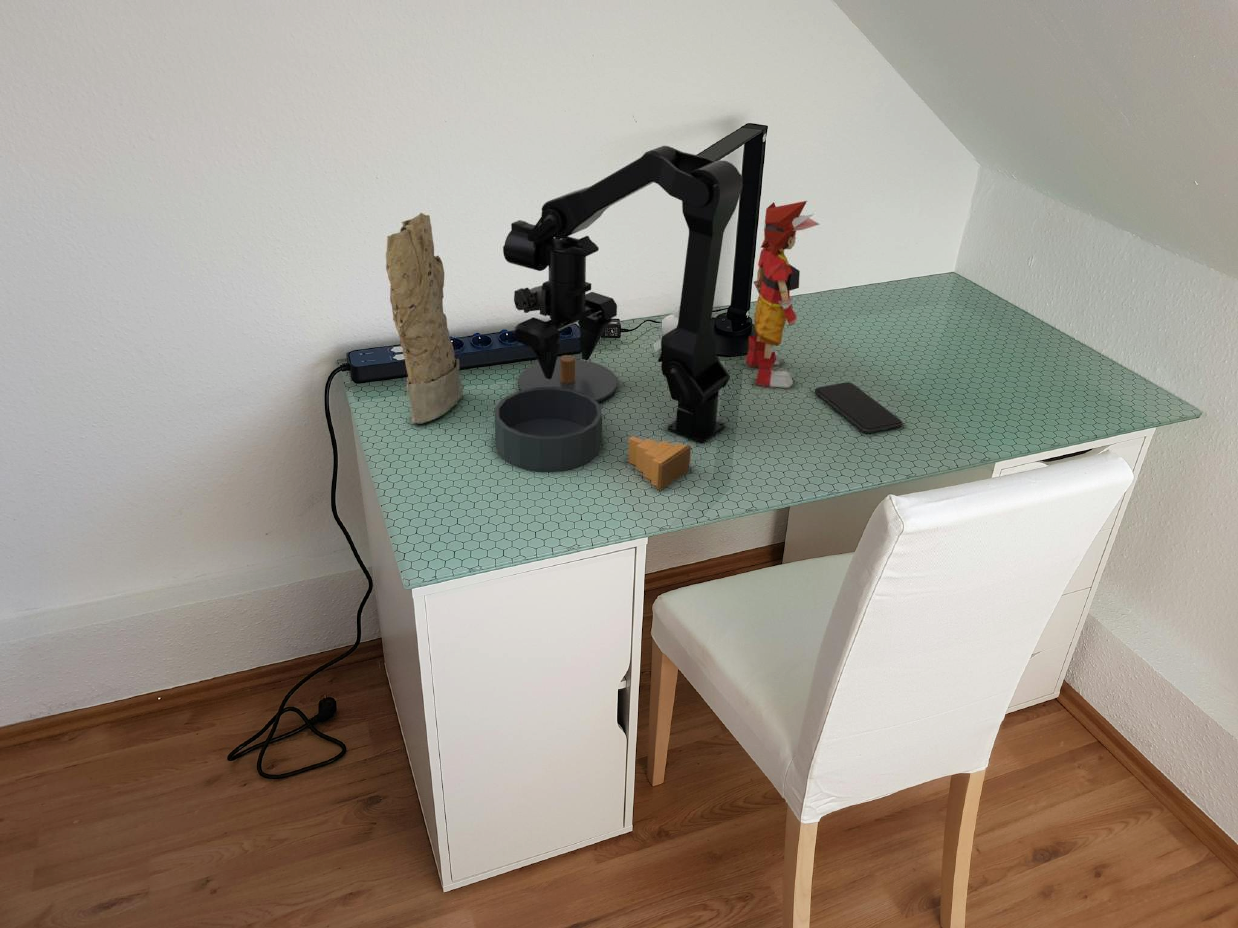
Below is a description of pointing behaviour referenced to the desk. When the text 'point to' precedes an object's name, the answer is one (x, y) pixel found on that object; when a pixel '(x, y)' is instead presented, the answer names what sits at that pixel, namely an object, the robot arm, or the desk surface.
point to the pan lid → (572, 377)
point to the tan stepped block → (659, 460)
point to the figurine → (668, 326)
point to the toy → (775, 291)
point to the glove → (422, 320)
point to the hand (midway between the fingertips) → (567, 368)
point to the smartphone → (858, 407)
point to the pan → (548, 429)
